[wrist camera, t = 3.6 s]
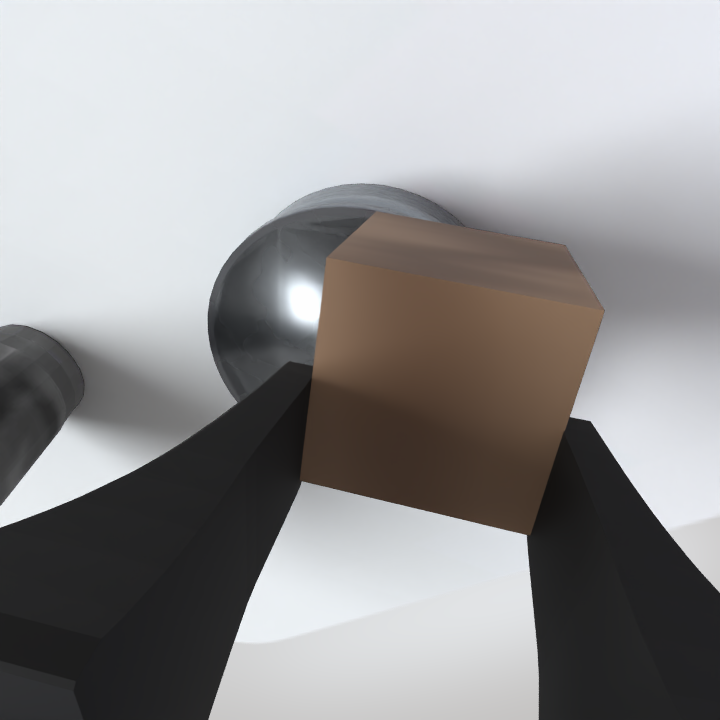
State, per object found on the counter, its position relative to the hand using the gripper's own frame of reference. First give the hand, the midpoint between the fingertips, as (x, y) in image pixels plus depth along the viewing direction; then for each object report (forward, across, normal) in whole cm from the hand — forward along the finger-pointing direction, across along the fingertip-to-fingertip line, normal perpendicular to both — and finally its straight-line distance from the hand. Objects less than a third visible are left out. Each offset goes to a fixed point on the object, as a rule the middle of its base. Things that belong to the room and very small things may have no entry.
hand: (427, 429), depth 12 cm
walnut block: (+4, 0, 0) cm, 4 cm away
